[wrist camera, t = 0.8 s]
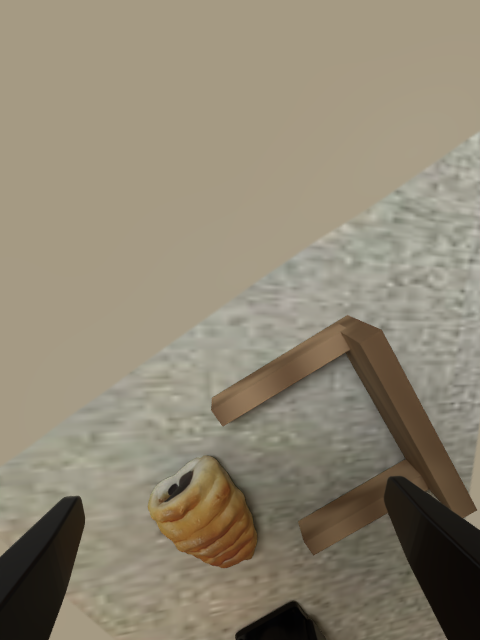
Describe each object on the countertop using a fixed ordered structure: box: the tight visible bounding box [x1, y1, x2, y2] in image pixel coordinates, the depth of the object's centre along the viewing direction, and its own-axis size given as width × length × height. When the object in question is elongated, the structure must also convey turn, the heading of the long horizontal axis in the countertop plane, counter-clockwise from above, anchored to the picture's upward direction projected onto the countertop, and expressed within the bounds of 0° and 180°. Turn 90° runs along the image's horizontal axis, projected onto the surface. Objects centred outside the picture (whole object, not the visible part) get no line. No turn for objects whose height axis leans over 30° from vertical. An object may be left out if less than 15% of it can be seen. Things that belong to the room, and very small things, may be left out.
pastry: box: [148, 456, 257, 568], centre depth 24 cm, size 9×7×4 cm
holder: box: [211, 315, 477, 555], centre depth 22 cm, size 12×15×5 cm
